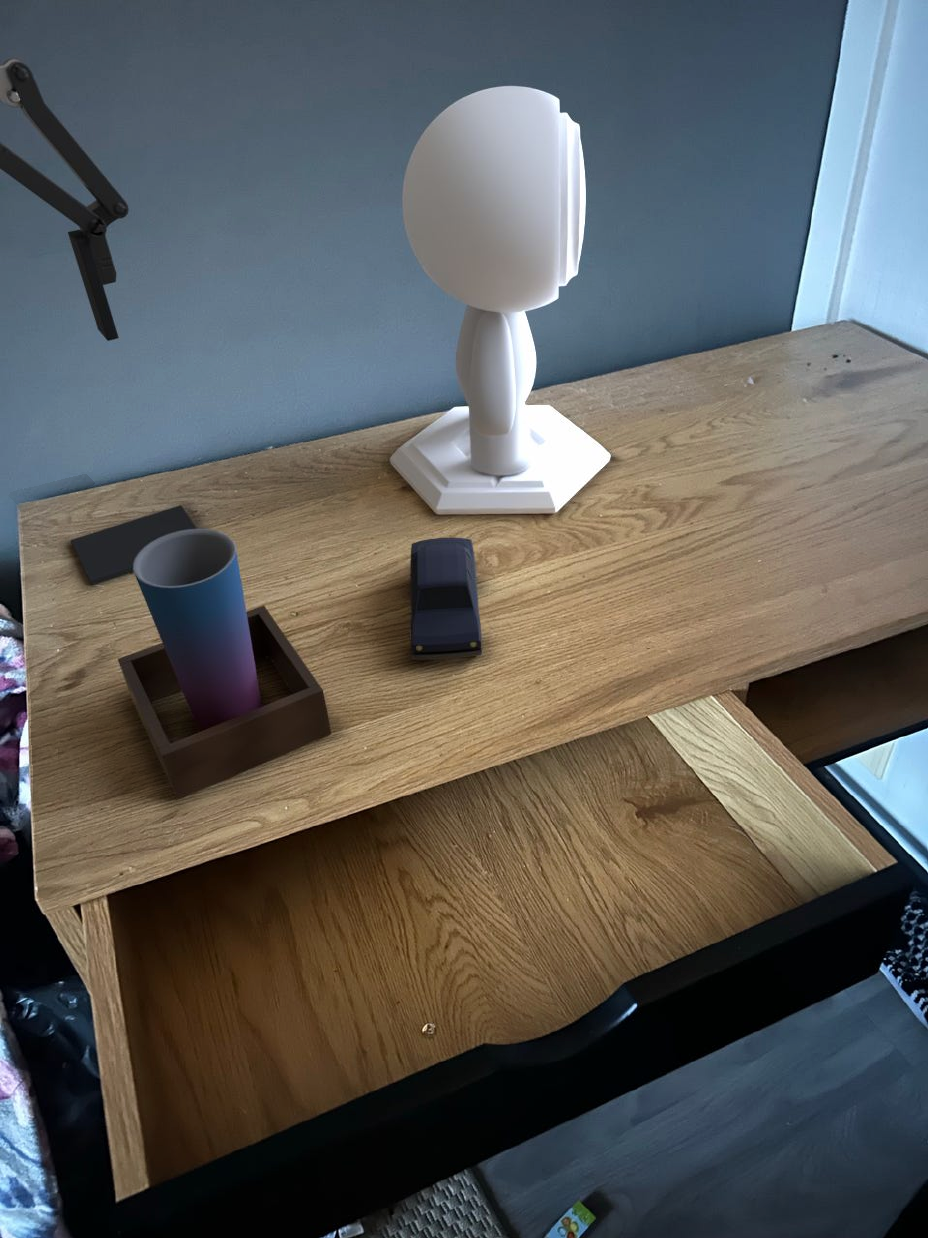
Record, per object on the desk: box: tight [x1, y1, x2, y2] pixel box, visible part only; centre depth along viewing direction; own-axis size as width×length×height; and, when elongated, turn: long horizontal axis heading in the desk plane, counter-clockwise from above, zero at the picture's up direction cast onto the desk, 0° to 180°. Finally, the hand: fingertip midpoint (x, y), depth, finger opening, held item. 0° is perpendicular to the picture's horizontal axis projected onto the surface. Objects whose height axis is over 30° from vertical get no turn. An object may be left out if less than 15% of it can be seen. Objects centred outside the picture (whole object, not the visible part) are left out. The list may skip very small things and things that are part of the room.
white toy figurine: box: [389, 85, 611, 515], centre depth 92 cm, size 20×23×35 cm
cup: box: [133, 528, 263, 733], centre depth 70 cm, size 7×7×15 cm
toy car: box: [409, 537, 484, 661], centre depth 82 cm, size 6×15×5 cm, turn 2°
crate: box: [117, 605, 332, 800], centre depth 73 cm, size 12×12×4 cm
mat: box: [70, 504, 198, 586], centre depth 94 cm, size 11×8×1 cm
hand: (5, 360), depth 64 cm, fingers open, 13 cm apart
